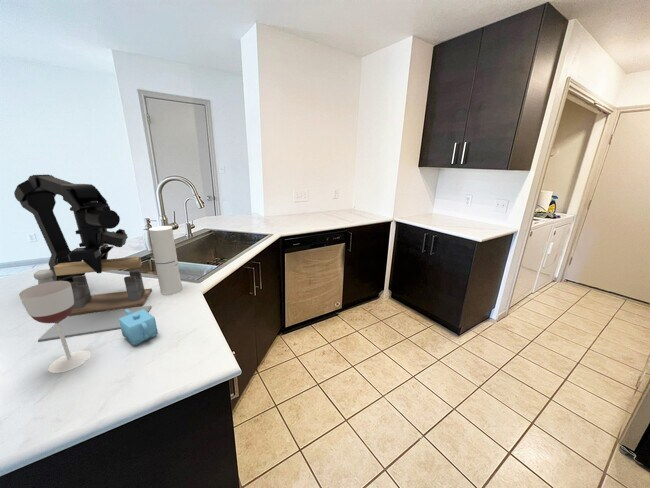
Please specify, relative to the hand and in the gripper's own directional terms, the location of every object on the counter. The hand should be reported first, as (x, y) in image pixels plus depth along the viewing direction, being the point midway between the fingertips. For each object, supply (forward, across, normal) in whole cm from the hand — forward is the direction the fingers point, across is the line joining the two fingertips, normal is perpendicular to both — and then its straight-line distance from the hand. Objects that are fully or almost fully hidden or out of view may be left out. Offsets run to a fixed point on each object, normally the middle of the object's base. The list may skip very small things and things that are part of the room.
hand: (101, 271), depth 85 cm
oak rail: (0, 0, 0) cm, 0 cm away
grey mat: (+13, -12, -2) cm, 17 cm away
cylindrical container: (+13, +5, -18) cm, 22 cm away
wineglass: (+13, -29, -1) cm, 31 cm away
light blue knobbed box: (+13, -23, -14) cm, 30 cm away
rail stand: (+13, +1, 0) cm, 13 cm away
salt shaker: (+13, +4, +17) cm, 22 cm away
